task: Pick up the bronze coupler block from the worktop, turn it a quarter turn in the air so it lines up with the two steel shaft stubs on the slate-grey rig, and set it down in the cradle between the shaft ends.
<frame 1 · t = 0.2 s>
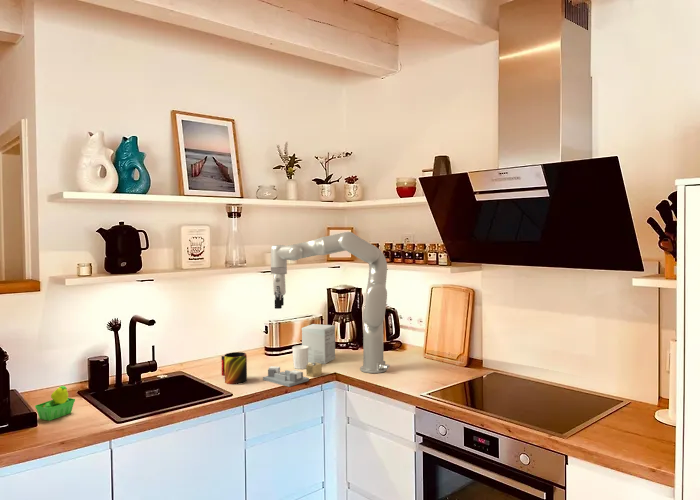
hand: (279, 307, 252), 31 cm above the countertop, tool pointing down, fingers open, 9 cm apart
supplement box: (318, 360, 274), on the countertop
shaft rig: (285, 380, 237), on the countertop
mug: (231, 381, 237), on the countertop
fruit basket: (57, 416, 193), on the countertop
white cup: (300, 367, 260), on the countertop
coupler: (314, 375, 245), on the countertop
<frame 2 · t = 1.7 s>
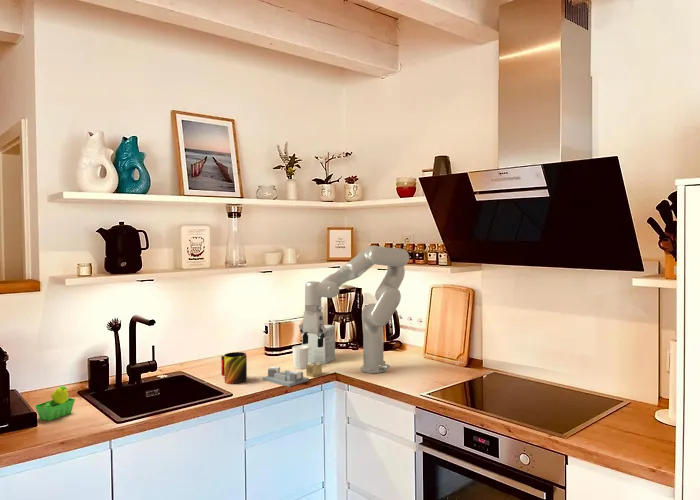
hand: (312, 345, 245), 14 cm above the countertop, tool pointing down, fingers open, 9 cm apart
nothing on the countertop moved.
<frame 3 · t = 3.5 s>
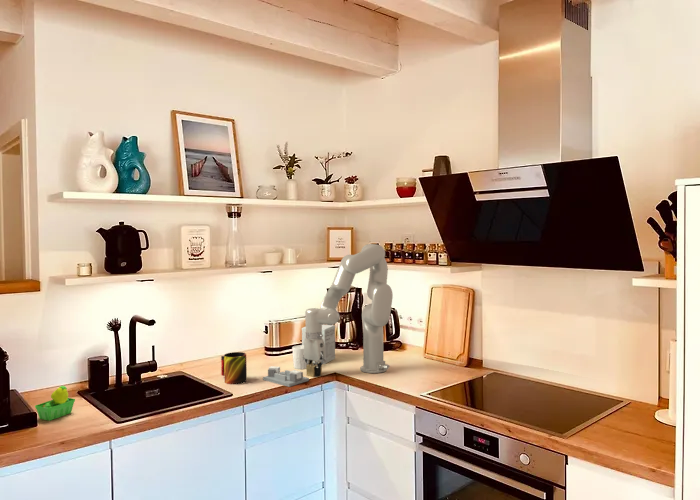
hand: (314, 374, 245), 0 cm above the countertop, tool pointing down, fingers closed on coupler, 4 cm apart
coupler: (314, 375, 245), on the countertop, touching gripper
everything else where it was.
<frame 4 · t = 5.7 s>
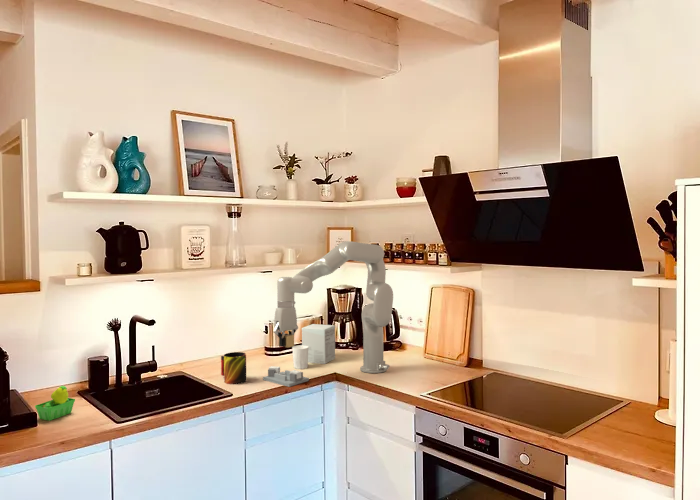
hand: (286, 345, 237), 16 cm above the countertop, tool pointing down, fingers closed on coupler, 4 cm apart
coupler: (286, 345, 237), point 15 cm above the countertop, touching gripper
everything else where it was.
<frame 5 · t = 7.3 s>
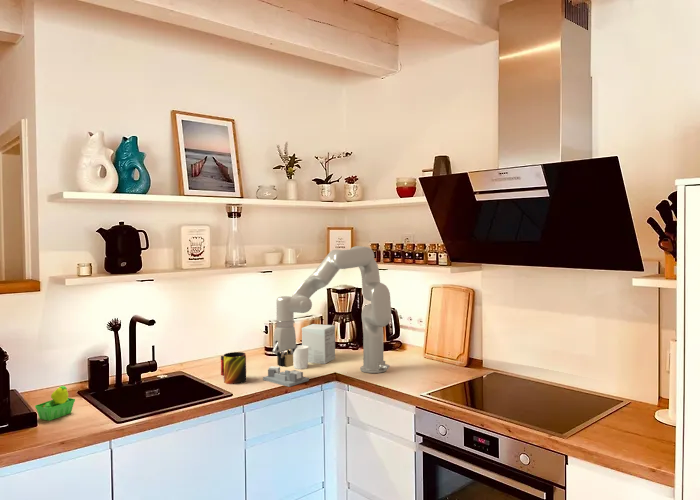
hand: (285, 364, 237), 7 cm above the countertop, tool pointing down, fingers closed on coupler, 4 cm apart
coupler: (285, 365, 237), point 7 cm above the countertop, touching gripper
everything else where it was.
when the fingers open (3 cm above the countertop, at t = 8.3 s): coupler drops 2 cm, resting on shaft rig.
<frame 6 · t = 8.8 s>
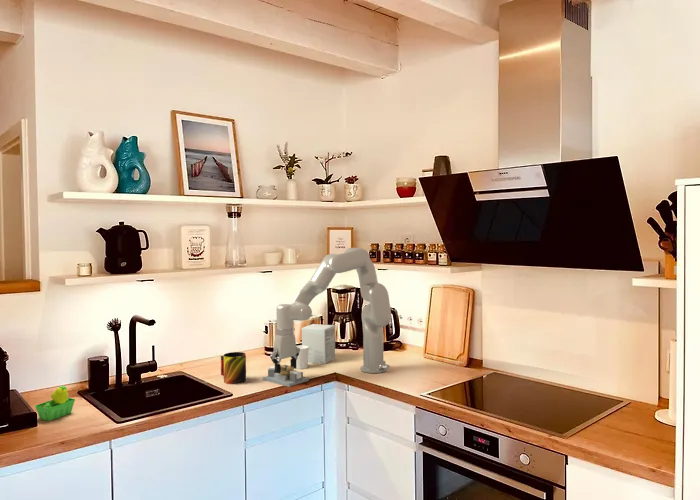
hand: (285, 370, 237), 4 cm above the countertop, tool pointing down, fingers open, 9 cm apart
coupler: (285, 377, 237), point 1 cm above the countertop, touching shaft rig
everything else where it was.
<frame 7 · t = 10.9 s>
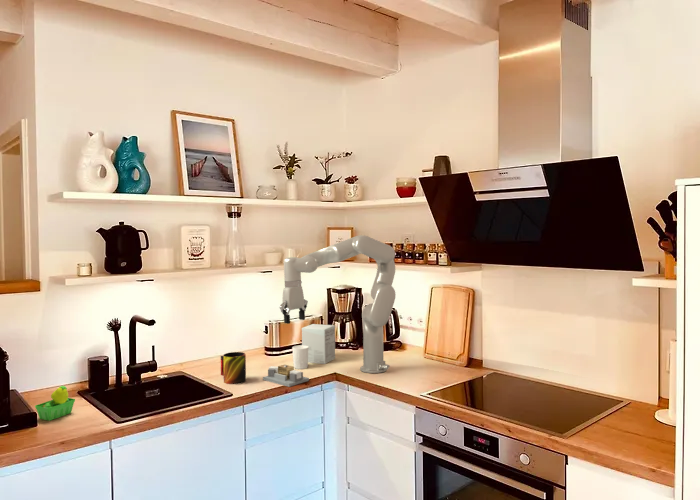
hand: (294, 321, 244), 25 cm above the countertop, tool pointing down, fingers open, 9 cm apart
nothing on the countertop moved.
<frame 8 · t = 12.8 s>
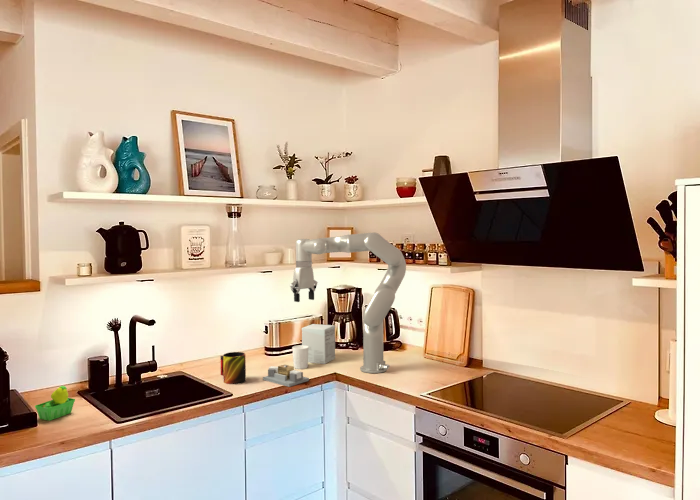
hand: (304, 300, 254), 33 cm above the countertop, tool pointing down, fingers open, 9 cm apart
nothing on the countertop moved.
at the end: coupler 0.0 cm off-centre on the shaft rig, point 1.2 cm above the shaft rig's base; coupler tilted 0°; the gripper is holding nothing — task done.
